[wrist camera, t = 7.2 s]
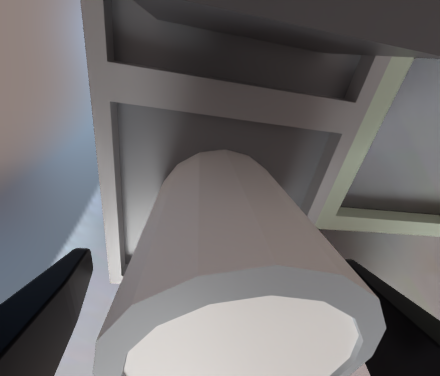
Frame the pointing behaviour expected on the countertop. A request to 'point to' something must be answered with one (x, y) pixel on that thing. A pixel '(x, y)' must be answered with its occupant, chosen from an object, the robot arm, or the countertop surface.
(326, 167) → the grey divided tray
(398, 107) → the countertop surface
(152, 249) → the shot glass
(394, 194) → the countertop surface
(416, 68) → the countertop surface
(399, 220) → the tray rim
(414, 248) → the countertop surface
